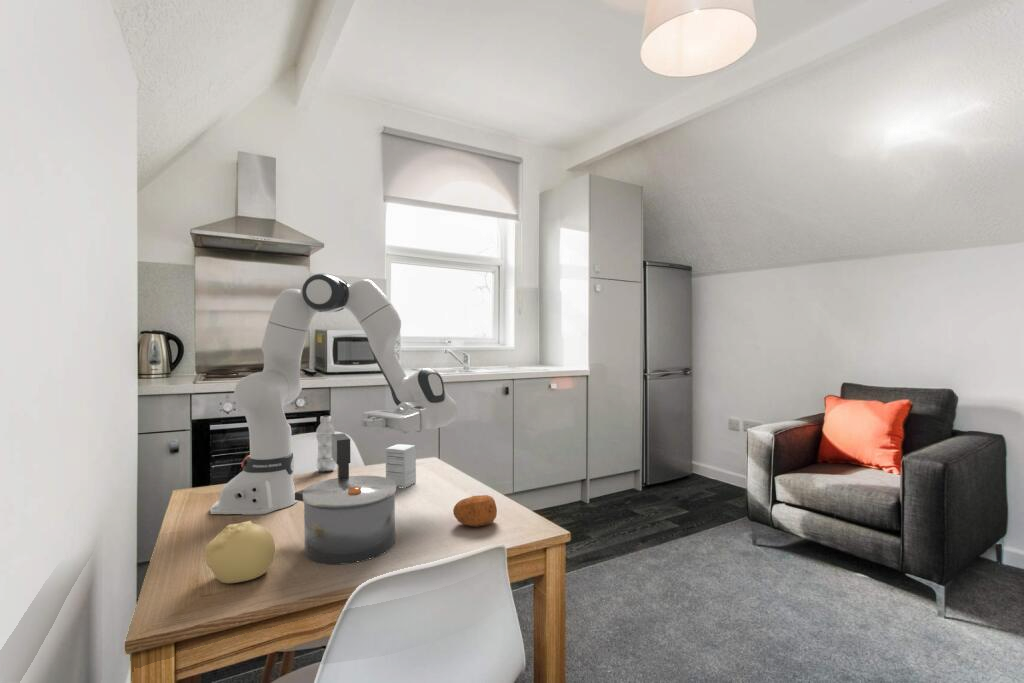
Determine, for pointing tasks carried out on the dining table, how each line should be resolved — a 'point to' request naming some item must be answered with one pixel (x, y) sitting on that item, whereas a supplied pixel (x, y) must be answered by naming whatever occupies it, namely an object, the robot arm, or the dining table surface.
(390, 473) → the supplement box
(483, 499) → the potato
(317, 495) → the cooker lid
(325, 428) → the plastic bottle
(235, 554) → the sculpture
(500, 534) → the dining table surface
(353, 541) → the cooker pot
